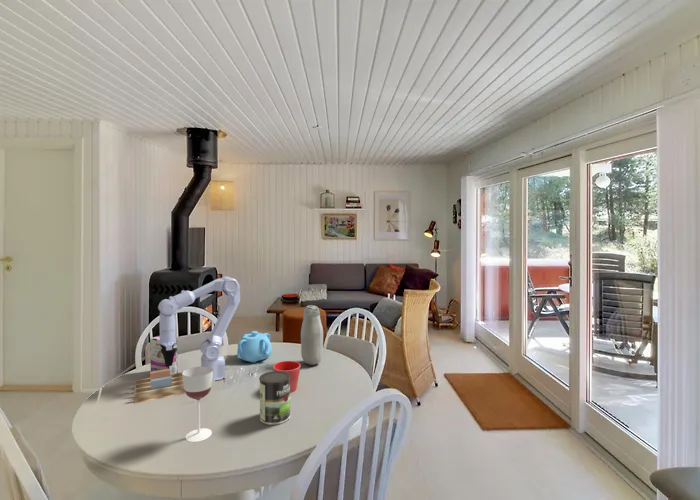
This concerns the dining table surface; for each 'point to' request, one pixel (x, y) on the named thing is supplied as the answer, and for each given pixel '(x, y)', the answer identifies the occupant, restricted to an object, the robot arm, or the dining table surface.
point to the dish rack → (146, 394)
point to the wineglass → (198, 396)
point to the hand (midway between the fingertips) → (168, 362)
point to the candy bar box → (161, 357)
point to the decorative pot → (254, 347)
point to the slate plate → (161, 383)
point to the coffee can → (274, 397)
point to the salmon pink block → (159, 374)
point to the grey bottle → (311, 336)
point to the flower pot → (289, 371)
